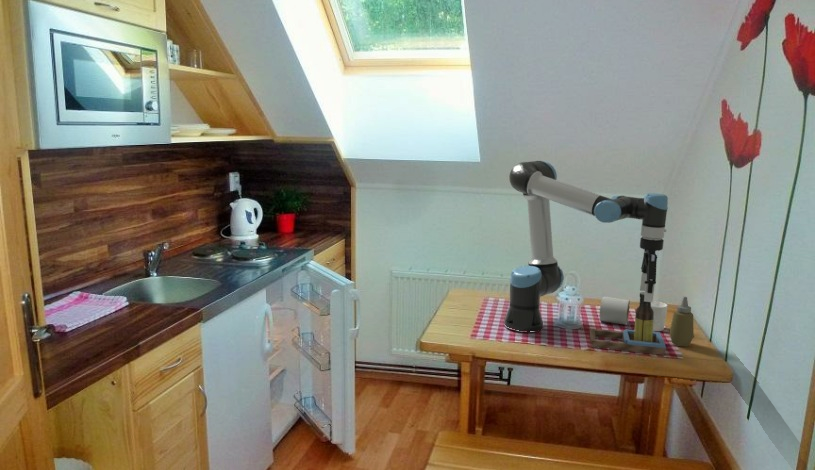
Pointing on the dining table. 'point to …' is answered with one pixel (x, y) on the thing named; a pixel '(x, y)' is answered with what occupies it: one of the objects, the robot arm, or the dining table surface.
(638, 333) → the sauce bottle
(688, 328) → the squeeze bottle
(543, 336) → the dining table surface
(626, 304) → the toilet paper
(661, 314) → the white cup
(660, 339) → the caddy
